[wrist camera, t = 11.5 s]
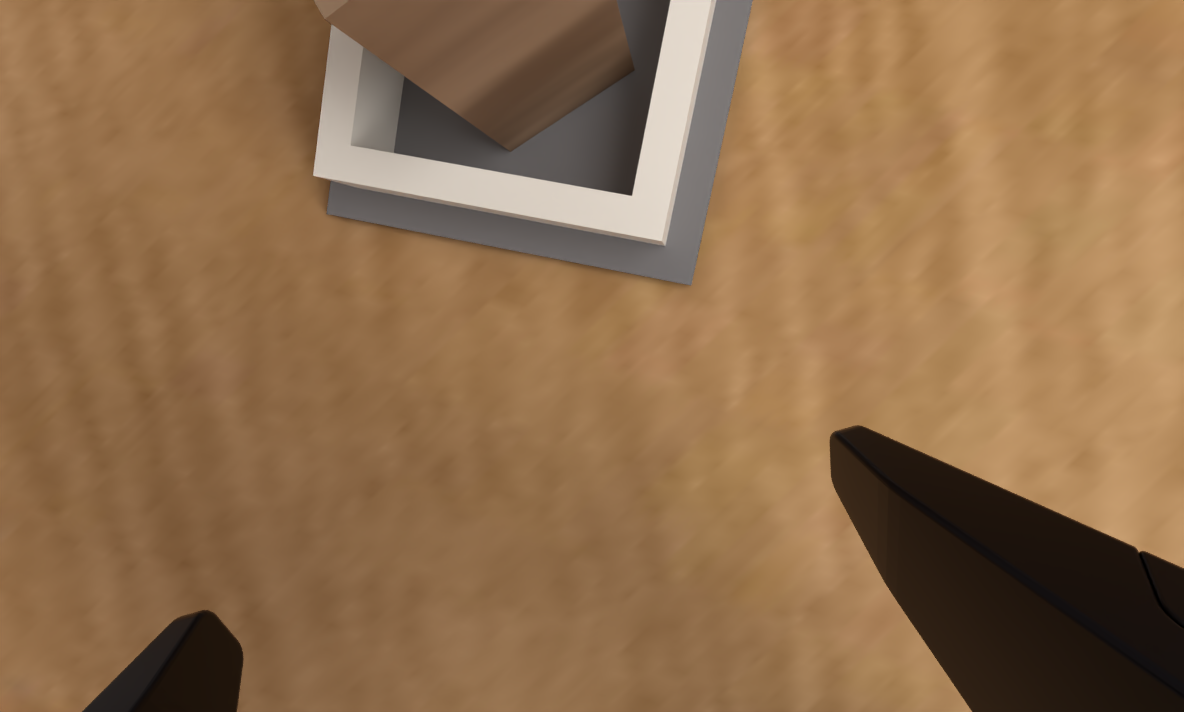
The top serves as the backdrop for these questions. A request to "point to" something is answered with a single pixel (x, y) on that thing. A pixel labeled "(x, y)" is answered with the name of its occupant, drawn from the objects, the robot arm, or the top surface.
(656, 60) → the socket collar
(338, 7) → the walnut post
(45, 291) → the top surface
